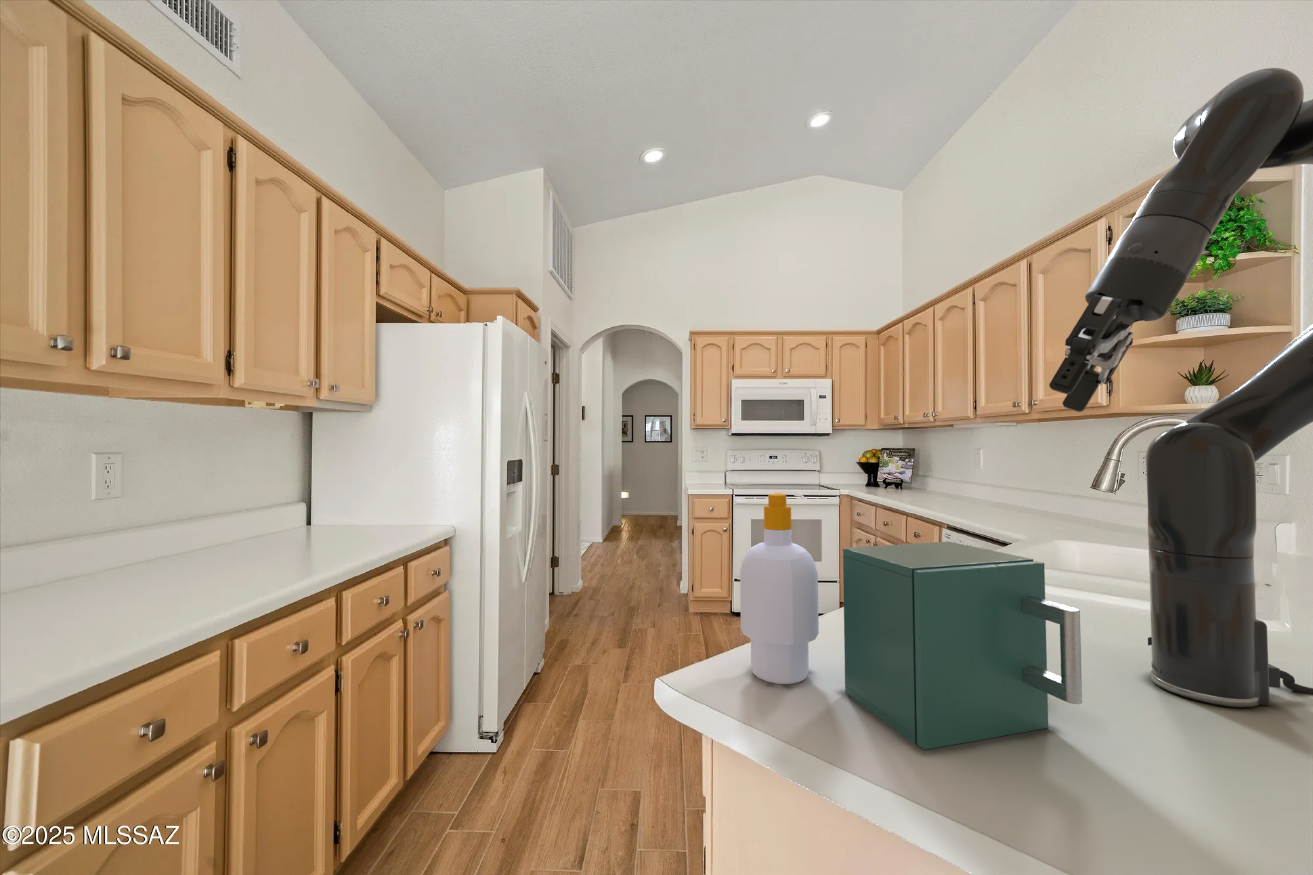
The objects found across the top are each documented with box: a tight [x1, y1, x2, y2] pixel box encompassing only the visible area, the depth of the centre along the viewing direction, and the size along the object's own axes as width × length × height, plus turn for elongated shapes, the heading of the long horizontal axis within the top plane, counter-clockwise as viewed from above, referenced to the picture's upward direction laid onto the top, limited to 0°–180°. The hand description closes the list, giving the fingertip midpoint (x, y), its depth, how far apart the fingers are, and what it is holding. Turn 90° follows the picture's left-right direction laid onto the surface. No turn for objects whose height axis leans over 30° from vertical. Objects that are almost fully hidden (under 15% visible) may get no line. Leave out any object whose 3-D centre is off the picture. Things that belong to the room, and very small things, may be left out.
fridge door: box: [914, 560, 1083, 751], centre depth 53 cm, size 6×16×18 cm, turn 105°
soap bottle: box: [739, 492, 820, 685], centre depth 72 cm, size 10×10×24 cm
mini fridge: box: [842, 541, 1035, 745], centre depth 62 cm, size 12×16×18 cm
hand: (1065, 400), depth 62 cm, fingers open, 8 cm apart
